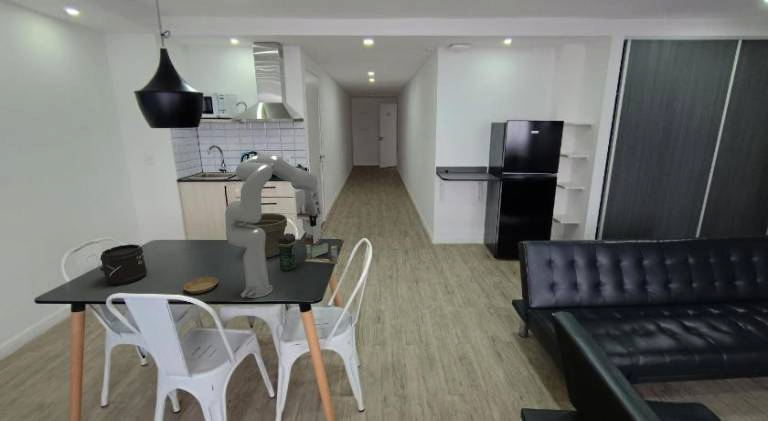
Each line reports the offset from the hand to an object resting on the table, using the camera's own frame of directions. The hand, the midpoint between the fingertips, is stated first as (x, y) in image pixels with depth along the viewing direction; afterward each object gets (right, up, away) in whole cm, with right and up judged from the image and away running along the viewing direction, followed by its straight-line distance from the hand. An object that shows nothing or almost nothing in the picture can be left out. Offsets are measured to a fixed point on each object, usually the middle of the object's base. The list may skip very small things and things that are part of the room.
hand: (313, 225), depth 201 cm
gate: (+4, -17, 0) cm, 17 cm away
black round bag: (-90, -26, -26) cm, 97 cm away
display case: (-6, -12, +22) cm, 26 cm away
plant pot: (-28, -17, +6) cm, 33 cm away
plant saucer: (-46, -29, -36) cm, 65 cm away
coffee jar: (-10, -22, -15) cm, 28 cm away
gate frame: (+6, -20, -7) cm, 22 cm away
